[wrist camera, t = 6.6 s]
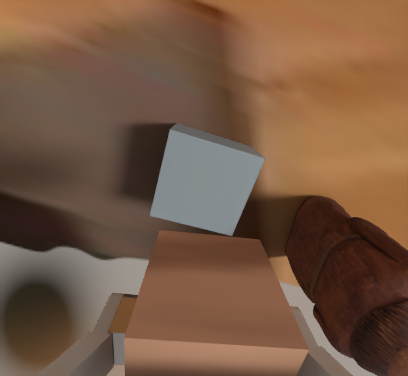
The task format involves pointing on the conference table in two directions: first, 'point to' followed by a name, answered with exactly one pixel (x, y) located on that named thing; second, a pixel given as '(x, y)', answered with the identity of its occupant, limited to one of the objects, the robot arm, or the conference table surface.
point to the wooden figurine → (353, 284)
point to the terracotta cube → (211, 312)
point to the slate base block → (205, 180)
